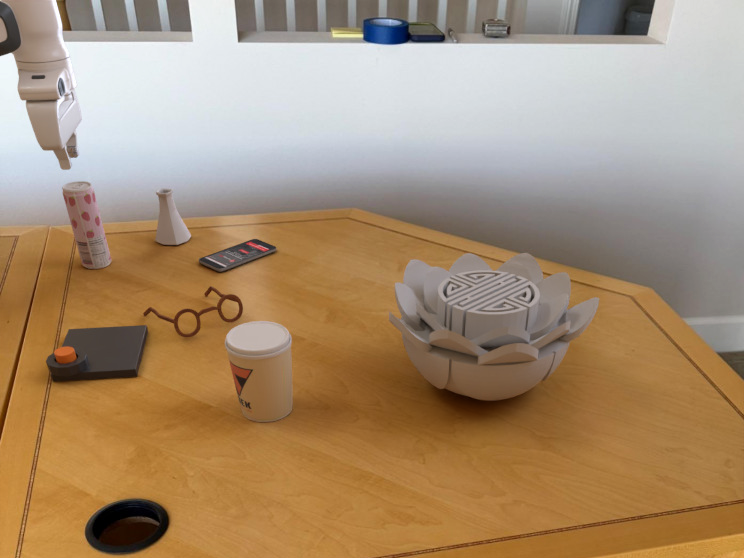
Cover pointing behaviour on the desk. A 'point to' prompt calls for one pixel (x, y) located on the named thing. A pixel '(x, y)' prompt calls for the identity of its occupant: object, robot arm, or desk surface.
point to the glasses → (201, 312)
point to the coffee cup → (261, 369)
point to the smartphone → (237, 255)
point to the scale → (101, 353)
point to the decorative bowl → (487, 324)
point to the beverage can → (86, 224)
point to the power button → (65, 355)
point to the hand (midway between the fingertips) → (70, 162)
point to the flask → (170, 221)
